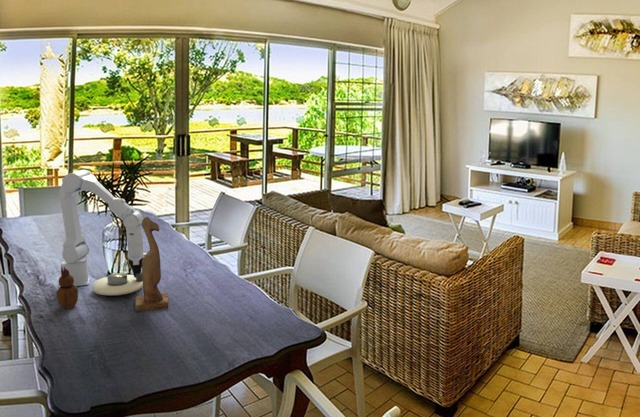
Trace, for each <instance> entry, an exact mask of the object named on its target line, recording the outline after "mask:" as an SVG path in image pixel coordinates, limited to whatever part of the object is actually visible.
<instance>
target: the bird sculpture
mask: <svg viewBox="0 0 640 417" xmlns="http://www.w3.org/2000/svg"><path fill="white" fill-rule="evenodd" d="M142 230H143V231H144V233H145V237H146V238H147V241H148V242H147V243H148V246H149V247H148V248H149V250H148V251H147V252H145V253H146V255H145V256H144V257H143V260H142V268H141V272H142V281H143V286H142V292H143V294H142V295H136V297H135V298H136V299H135V304H134V305H135V311H136V312H135V313H137V312H138V313H140V312H146V311H148V312H149V311H157V310H158V311H160V310H168V309H169V292H166V293H164V292H163V293H161V291H160V289H159V287H158V285H159V283H160V282H161V278H162V271H161V270H162V269H161V256H160V249H159V248H160V247H159V245H158V243H157V240H156V239H155V236H154V234H153V232H154V231H156V232H160V226H159V224H158V223H157V222H154V221H153V220H152V219H151V218H150V217H149V216H144V219H143V220H142Z"/></svg>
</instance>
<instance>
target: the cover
mask: <svg viewBox="0 0 640 417" xmlns="http://www.w3.org/2000/svg"><path fill="white" fill-rule="evenodd" d="M127 275H128V274H127V273H124V272H118V273H117V272H116V273H112V274H109V275H107V276H106V277H107V279H108V285H110V286H120V285H124V284H126V283H127Z"/></svg>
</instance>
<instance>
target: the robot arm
mask: <svg viewBox="0 0 640 417" xmlns="http://www.w3.org/2000/svg"><path fill="white" fill-rule="evenodd" d="M61 181H62V184H61V186H60V189H59V190H58V193H59V194H58V195H59V202H60V206H61V207H60V208H61V213H62V219H63V224H64V225H63V226H64V232H65V240H64V242H63V244H62V247H63V248H62V254H61V256H62V259H63V260H64V261H62V262H60V268H61V267H62V268H63V271H64V267H65V270H66V269H67V270H69V274H70V275H71V276H73V278H74V283H73V285H75V286H76V287H79V286H82V287H83V286H89V285H90V281H91V277H90V276H89V273H88V261H87V258H88V256H87V255H88V254H89V252H90V247H89V244H87V240H86V237H84V236H83V235H82V231H81V224H80V215H79V210H78V202H77V196H76V195H77V194H79V192H80V191H83V192H84V191H85V192H92V193H93V195H96V196H97V197H98V198H100V199H101V200H102V201H104V202H105V203H106V204H108V209H109V210H110V211H111V212H112V213H113V214H114V215H115V216H116V217H118V218H119V219H120V220H121V221H122V224H123V226H124V227H125V229H126V243H127V246H126V247H127V258H128V265H129V266H130V268H131V270H132V273H133V274H132V275H134V278H136V273H138V272H142V260H143V257H144V256H145V255H146V253H147V252H145V251H144V235H143V227H142V220H143V219H144V218H145V216H144V214H143V213H142V212H141V210H139V209H135V208H134V207H132V206H130V205H129V204H128V203H127V201H126V200H125V199H124V198H121V197H115V196H114V195H113V194H112V193H111V192H110V191H109V190H108V189H107V188H105V186H103V184H102V183H101V182H99V181H98V179H97V177H96V176H95V175H94V174H92V173H91V172H90V171H89V170H87V169H79V170H77V171H74V172H70V173H67V174H66V175H64V177H63V178H62V179H61Z"/></svg>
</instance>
